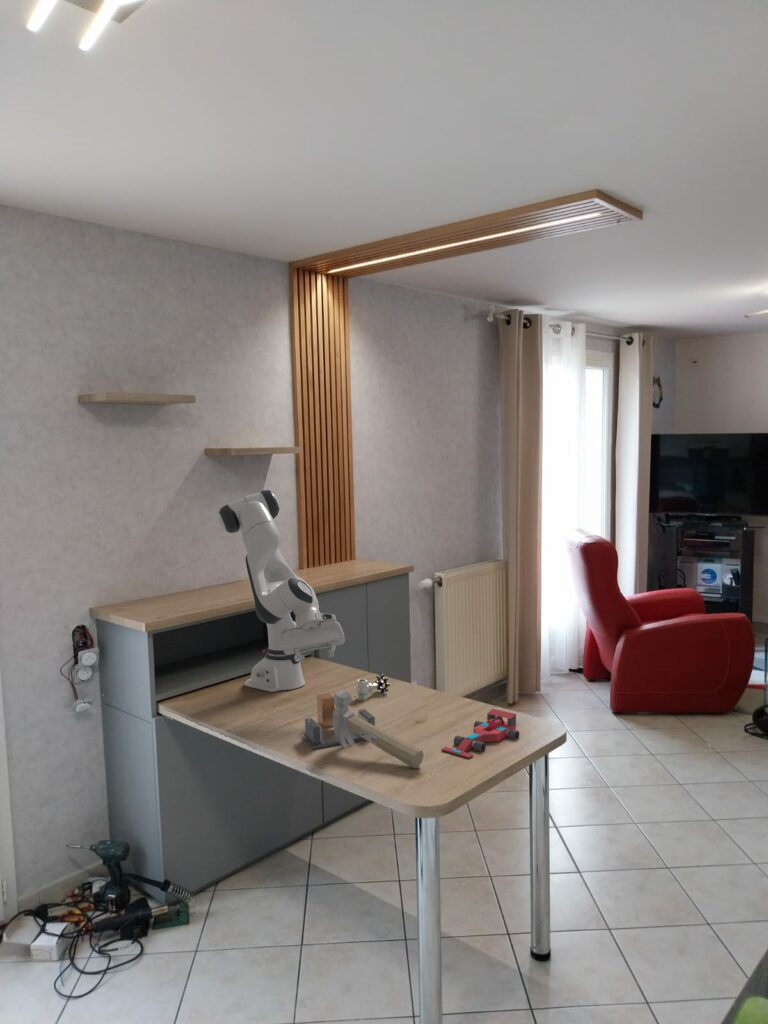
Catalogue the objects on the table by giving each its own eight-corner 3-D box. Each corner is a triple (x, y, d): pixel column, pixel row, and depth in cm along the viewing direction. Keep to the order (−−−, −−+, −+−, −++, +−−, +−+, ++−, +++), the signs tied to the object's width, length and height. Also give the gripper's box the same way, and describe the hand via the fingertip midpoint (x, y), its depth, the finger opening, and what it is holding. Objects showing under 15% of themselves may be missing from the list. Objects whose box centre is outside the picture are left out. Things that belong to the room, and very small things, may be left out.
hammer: (426, 731, 202) (342, 687, 220) (415, 739, 198) (331, 694, 216) (422, 780, 207) (341, 734, 225) (411, 789, 203) (330, 741, 221)
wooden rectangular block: (317, 722, 241) (316, 694, 240) (329, 720, 242) (328, 693, 241) (322, 727, 236) (321, 699, 235) (335, 725, 237) (334, 697, 237)
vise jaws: (303, 738, 228) (302, 718, 227) (365, 726, 235) (365, 707, 235) (313, 749, 219) (312, 729, 218) (378, 737, 226) (377, 717, 226)
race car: (433, 729, 216) (484, 706, 234) (434, 750, 216) (484, 725, 235) (475, 741, 206) (524, 715, 225) (475, 762, 207) (525, 735, 225)
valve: (364, 702, 259) (390, 694, 267) (364, 683, 259) (389, 675, 267) (351, 698, 264) (377, 690, 272) (351, 679, 263) (376, 672, 272)
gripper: (278, 625, 251) (284, 658, 241) (339, 613, 254) (348, 646, 244) (279, 637, 255) (286, 670, 245) (340, 625, 258) (348, 658, 249)
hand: (317, 658), depth 245 cm, fingers open, 8 cm apart
